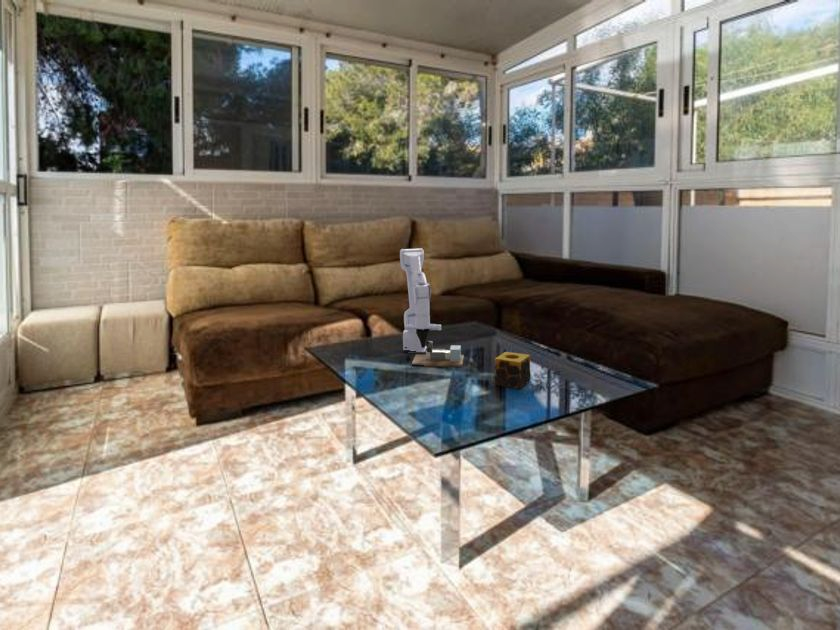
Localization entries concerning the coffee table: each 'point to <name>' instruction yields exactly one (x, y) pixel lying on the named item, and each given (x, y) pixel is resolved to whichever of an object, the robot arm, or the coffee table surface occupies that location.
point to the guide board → (426, 362)
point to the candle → (512, 370)
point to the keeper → (455, 353)
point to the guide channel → (437, 355)
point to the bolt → (430, 349)
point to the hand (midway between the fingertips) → (423, 347)
